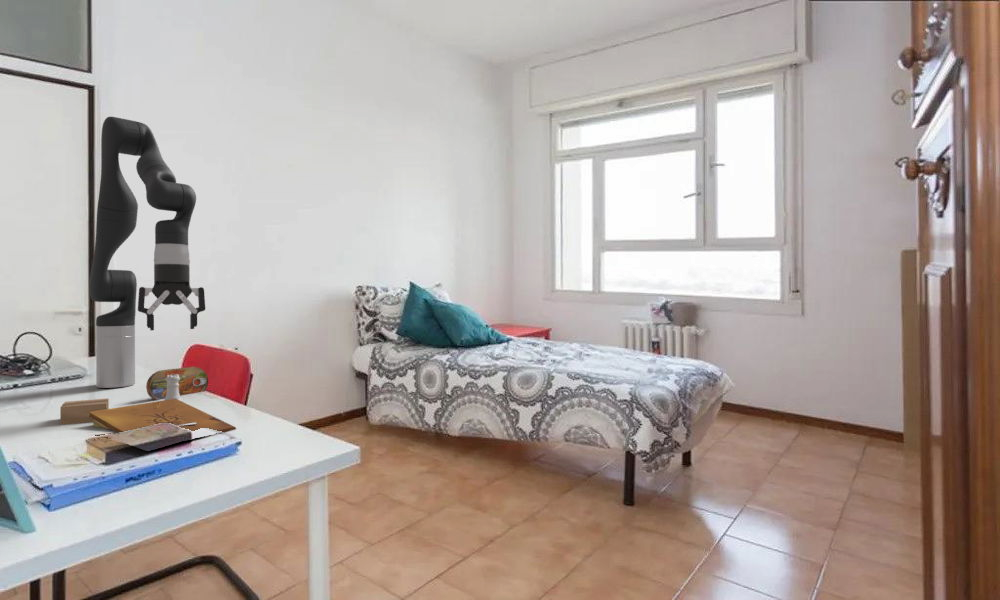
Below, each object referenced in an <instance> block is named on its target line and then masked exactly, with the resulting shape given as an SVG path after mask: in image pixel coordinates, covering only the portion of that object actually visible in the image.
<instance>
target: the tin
mask: <svg viewBox="0 0 1000 600" xmlns="http://www.w3.org/2000/svg"><path fill="white" fill-rule="evenodd" d="M174 374H177V375H179V377H180V380H179V381H178V384H179V386H178V389H179V395H180V397H182V396H187V395H191V394H196V393H197V394H198V393H202V392H206V390H207V388H208V386H209V377H208V374H207V373H206V371H205V370H204V369H202V368H201V367H198V366H188V367H180V368H171V369H170V368H169V369H162V370H161V369H160V370H158V371H155V372H154V373H152V374H151V375H150V376H149V377H148V379H147V381H146V385H145V386H146V387H145V388H146V393H147V395H148V396H149V397H150V398H151V399H152V400H156V401H162V400H165V397H166V393H167V386H166V385H167V381H166V380H165V379H166V378H167V375H169V376H170V375H172V376H173V375H174Z"/></svg>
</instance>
